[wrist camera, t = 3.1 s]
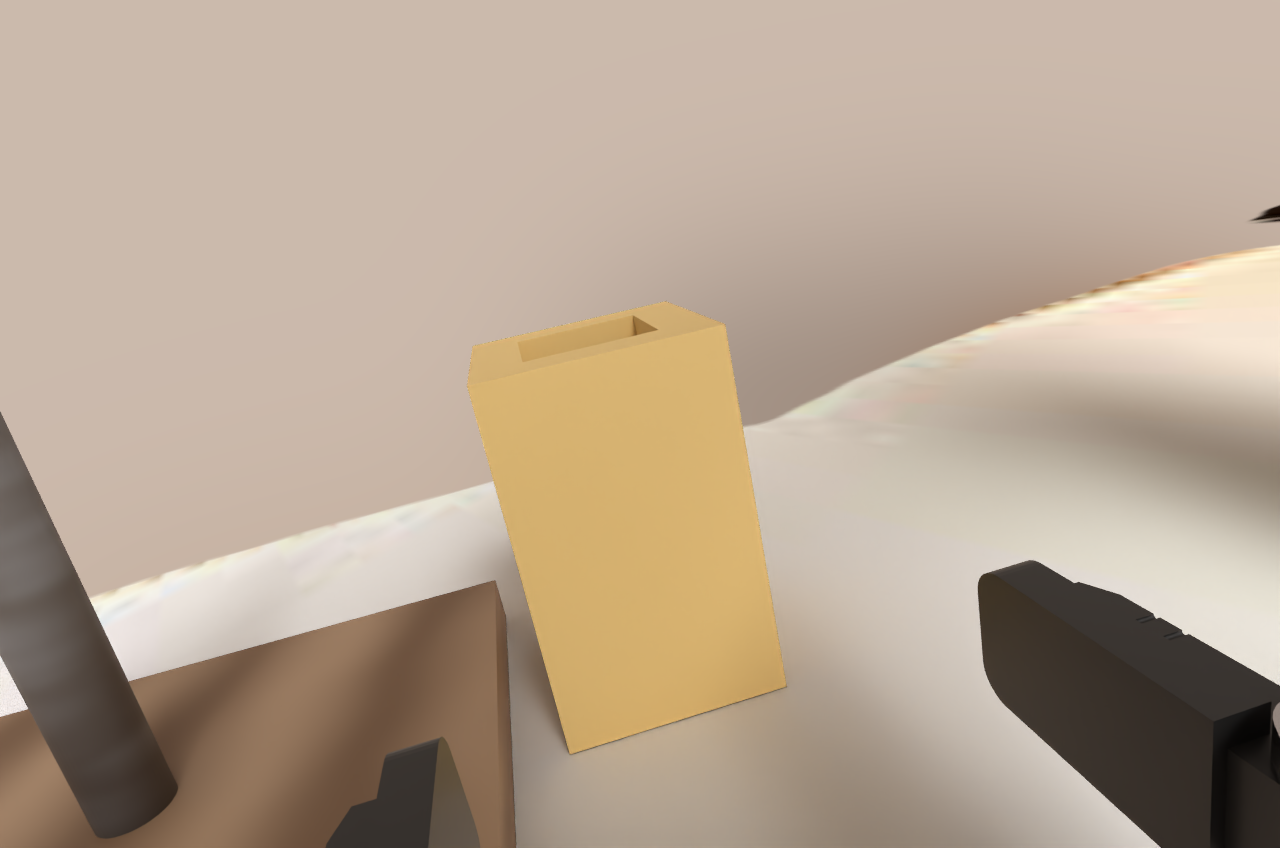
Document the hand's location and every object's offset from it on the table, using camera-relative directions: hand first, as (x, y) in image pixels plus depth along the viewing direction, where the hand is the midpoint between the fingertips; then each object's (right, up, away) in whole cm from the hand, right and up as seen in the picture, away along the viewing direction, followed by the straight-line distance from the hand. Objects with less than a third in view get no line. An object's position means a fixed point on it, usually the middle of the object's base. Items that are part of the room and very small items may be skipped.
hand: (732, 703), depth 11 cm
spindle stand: (-13, -7, +8) cm, 17 cm away
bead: (-1, -3, +12) cm, 12 cm away
